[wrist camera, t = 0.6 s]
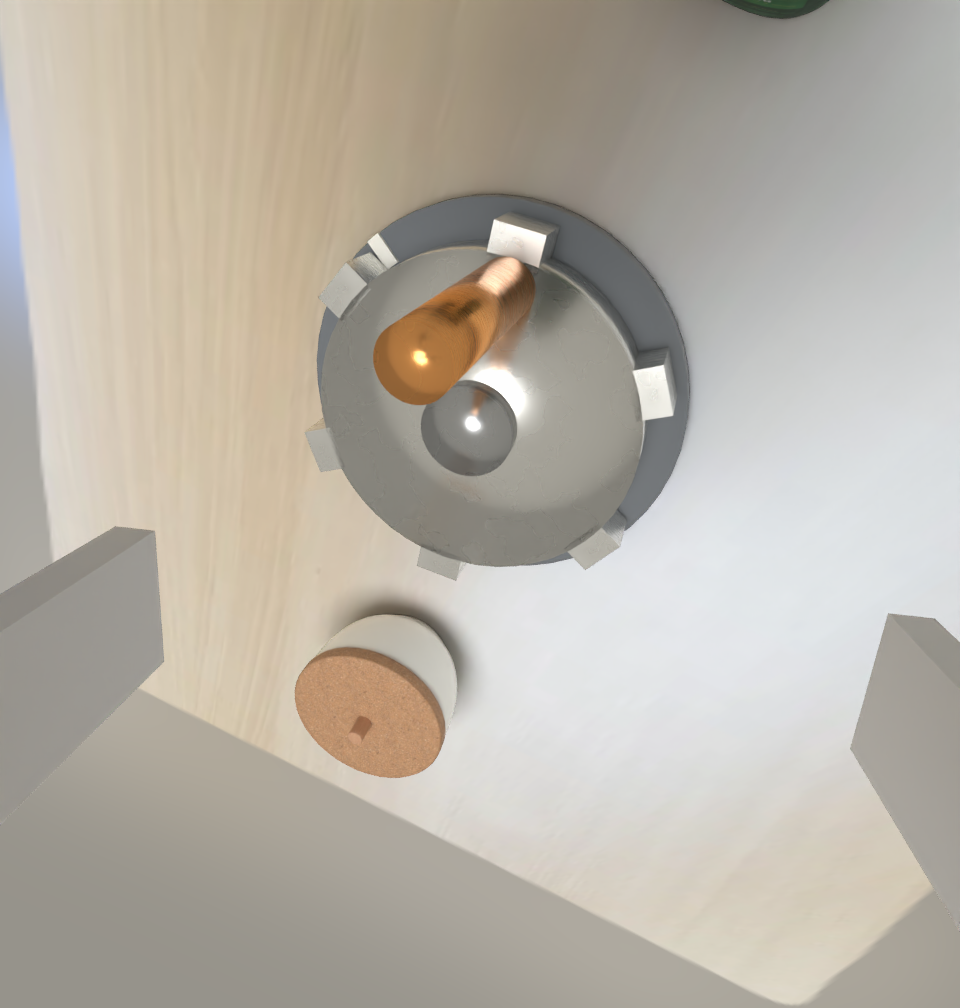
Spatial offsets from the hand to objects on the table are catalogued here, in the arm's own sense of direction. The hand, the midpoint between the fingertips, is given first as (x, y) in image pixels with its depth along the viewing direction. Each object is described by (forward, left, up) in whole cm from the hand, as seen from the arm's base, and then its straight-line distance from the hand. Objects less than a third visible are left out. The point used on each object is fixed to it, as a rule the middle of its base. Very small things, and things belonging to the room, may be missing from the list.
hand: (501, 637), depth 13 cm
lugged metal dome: (+3, -10, -28) cm, 30 cm away
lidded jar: (+20, -24, -30) cm, 43 cm away
